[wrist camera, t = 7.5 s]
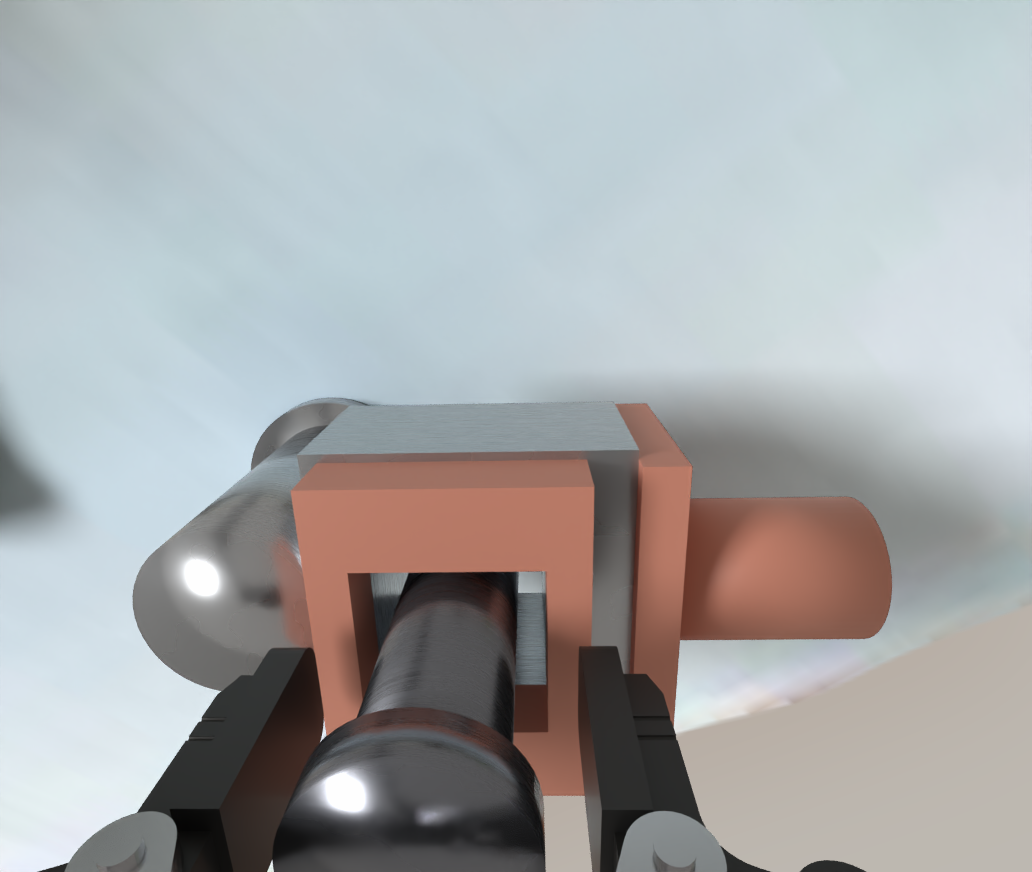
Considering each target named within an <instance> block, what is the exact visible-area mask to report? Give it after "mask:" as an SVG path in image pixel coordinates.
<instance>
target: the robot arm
mask: <svg viewBox="0 0 1032 872" xmlns="http://www.w3.org/2000/svg"><path fill="white" fill-rule="evenodd" d="M323 722H324V711H323V703H322V697H321V690H320V683H319V676H318V670H317V663H316V657H315V653H314V650H313V649H312V648H310V647H295V648H272V649H270V650H269V651H268V653H267V654H266V656H265V657H264V659H263V660H262V662H261V664H260V665H259V667H258V668H257V670H256V672H255V673H254V675H241V676H240V677H238V678H237V679H236V680H235V681H234V682H232V683H231V684H230V685H229V686H227V687H226V688H225V689H224V690H222V691H221V692H220V693H219V694H218V695H217V696H216V697H215V699H214V700H213V702H212V703H211V705H210V706H209V708H208V709H207V711H206V712H205V713H204V715H203V716H202V721H201V722H198V724H197V725H196V727H195V728H194V730H193V731H192V733H191V734H190V736H189V740H188V741H185V743H184V744H183V746H182V747H181V749H180V750H179V752H178V753H177V755H176V756H175V758H174V759H173V760H172V762H171V763H170V765H169V766H168V768H167V769H166V771H165V772H164V774H163V775H162V777H161V778H160V780H159V781H158V782H157V784H156V785H155V787H154V788H153V790H152V791H151V793H150V794H149V796H148V797H147V799H146V800H145V802H144V803H143V804H142V806H141V807H140V809H139V810H138V812H137V813H135V814H131V815H128V816H126V817H123V818H121V819H118V820H116V821H114V822H112V823H111V824H109V825H107V826H105V827H104V828H102V829H101V830H100V831H98V832H97V833H95V834H94V835H93V836H92V837H90V838H89V839H88V840H87V841H86V842H85V843H84V844H83V845H82V846H81V847H80V848H79V849H78V850H77V852H76V853H75V854H74V855H73V857H72V858H71V860H70V862H69V863H66V864H63V865H60V866H56V867H53V868H49V869H46V870H42V871H39V872H267V871H268V868H269V866H270V863H271V861H272V854H273V843H274V839H275V835H276V831H277V829H278V827H279V824H280V822H281V820H282V817H283V815H284V813H285V810H286V808H287V805H288V803H289V801H290V798H291V796H292V794H293V791H294V789H295V787H296V784H297V782H298V780H299V777H300V775H301V773H302V770H303V768H304V766H305V764H306V762H307V759H308V758H309V756H310V755H311V753H312V752H313V750H314V749H315V747H316V746H317V745H318V744H319V743H320V740H321V736H322V731H323ZM578 731H579V745H580V755H581V765H582V774H583V784H584V794H585V803H586V813H587V821H588V832H589V842H590V851H591V861H592V870H593V872H770V871H766V870H764V869H760V868H757V867H755V866H752V865H750V864H747V863H745V862H743V861H741V860H739V859H737V858H736V857H735V856H733V855H731V854H730V853H728V852H727V851H726V850H725V849H724V848H723V847H721V846H720V845H719V843H718V842H717V840H716V839H715V837H714V836H713V835H712V834H711V833H710V832H709V831H708V830H707V829H706V827H705V825H704V823H703V822H702V819H701V816H700V814H699V811H698V807H697V804H696V801H695V797H694V794H693V791H692V788H691V784H690V781H689V777H688V774H687V771H686V767H685V764H684V761H683V757H682V754H681V751H680V747H679V744H678V741H677V740H676V734H675V731H674V727H673V724H672V721H671V720H670V714H669V711H668V707H667V704H666V701H665V697H664V694H663V692H662V691H661V690H660V689H659V688H658V687H657V685H656V684H655V683H654V682H653V681H652V680H651V679H650V677H649V676H648V675H647V674H623V669H622V665H621V660H620V656H619V652H618V648H617V646H579V661H578ZM800 872H866V871H864V870H862V869H860V868H857V867H855V866H853V865H850V864H847V863H844V862H838V861H829V860H824V861H817V862H814V863H811V864H809V865H807V866H806V867H804V868H803V869H802V870H801V871H800Z"/></svg>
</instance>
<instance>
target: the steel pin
mask: <svg viewBox="0 0 1032 872" xmlns="http://www.w3.org/2000/svg"><path fill="white" fill-rule="evenodd" d="M518 574H519V572H420V573H408V576H407V579H406V581H405V584H404V587H403V590H402V593H401V595H400V598H399V601H398V604H397V606H396V609H395V612H394V615H393V618H392V620H391V623H390V626H389V629H388V631H387V634H386V637H385V640H384V643H383V645H382V648H381V651H380V654H379V657H378V659H377V662H376V665H375V668H374V670H373V673H372V676H371V679H370V682H369V684H368V687H367V690H366V693H365V696H364V698H363V701H362V704H361V707H360V709H359V712H358V715H357V718H356V719H353V720H351V721H349V722H347V723H345V724H343V725H342V726H340V727H338V728H337V729H335V730H334V731H333V732H331V733H330V734H329V735H327V736H326V737H325V738H324V739H323V740H322V741H321V742H320V743H319V744H318V745H317V746H316V747H315V749H314V750H313V752H312V753H311V755H310V756H309V758H308V759H307V762H306V764H305V766H304V768H303V770H302V773H301V775H300V777H299V780H298V782H297V784H296V787H295V789H294V791H293V794H292V796H291V798H290V801H289V803H288V805H287V808H286V810H285V813H284V815H283V817H282V820H281V822H280V824H279V827H278V829H277V831H276V835H275V839H274V843H273V854H272V860H273V869H274V872H546V870H545V835H544V834H545V832H544V804H543V794H542V790H541V787H540V783H539V780H538V778H537V776H536V774H535V772H534V770H533V768H532V766H531V765H530V763H529V762H528V760H527V759H526V758H525V756H524V755H523V754H522V753H521V752H520V751H519V750H518V748H517V747H516V746H514V745H513V738H514V705H515V673H516V640H517V607H518Z"/></svg>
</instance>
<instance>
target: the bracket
mask: <svg viewBox="0 0 1032 872" xmlns="http://www.w3.org/2000/svg"><path fill="white" fill-rule="evenodd" d="M615 405H616V407H617V409H618V411H619V413H620V415H621V416H622V418H623V420H624V422H625V424H626V426H627V428H628V430H629V431H630V433H631V435H632V437H633V439H634V441H635V443H636V445H637V446H638V448H639V469H638V492H637V515H636V538H635V561H634V583H633V606H632V629H631V652H630V674H647V675H648V676H649V677H650V679H651V680H652V681H653V682H654V683H655V684H656V685H657V687H658V688H659V689H660V690H661V691H662V692H663V694H664V697H665V701H666V704H667V707H668V711H669V714H670V720H671V721H672V724H673V727H674V713H675V699H676V686H677V672H678V658H679V644H680V640H766V639H866V638H870V637H872V636H874V635H875V634H876V633H878V632H879V630H880V629H881V628H882V626H883V624H884V623H885V620H886V618H887V615H888V612H889V608H890V602H891V594H892V575H891V565H890V560H889V555H888V551H887V547H886V543H885V540H884V537H883V535H882V532H881V530H880V528H879V526H878V524H877V522H876V520H875V518H874V517H873V515H872V514H871V512H870V511H869V510H868V509H867V508H866V507H865V506H864V505H863V504H862V503H861V502H859V501H858V500H856V499H854V498H852V497H779V498H700V499H690V494H691V480H692V465H691V464H690V462H689V461H688V460H687V458H686V457H685V455H684V454H683V453H682V451H681V450H680V449H679V447H678V446H677V445H676V443H675V442H674V440H673V439H672V438H671V436H670V435H669V434H668V432H667V431H666V430H665V428H664V427H663V425H662V424H661V423H660V421H659V420H658V419H657V417H656V416H655V414H654V413H653V412H652V410H651V409H650V408H649V406H648V405H647V404H615ZM291 497H292V504H293V511H294V518H295V524H296V531H297V538H298V545H299V552H300V558H301V565H302V572H303V579H304V585H305V592H306V599H307V606H308V612H309V619H310V626H311V633H312V640H313V646H314V653H315V657H316V663H317V670H318V676H319V683H320V690H321V697H322V703H323V711H324V721H325V728H326V734H327V735H329V734H330V733H331V732H333V731H334V730H335V729H337V728H338V727H340V726H342V725H343V724H345V723H347V722H349V721H351V720H353V719H356V718H357V715H358V712H359V709H360V707H361V704H362V701H363V698H364V696H365V693H366V690H367V687H368V684H369V682H370V679H371V676H372V673H373V670H374V668H375V665H376V662H377V659H378V657H379V650H378V641H377V632H376V622H375V613H374V604H373V595H372V586H371V576H370V573H420V572H522V571H545V573H546V685H515V705H514V738H513V745H514V746H516V747H517V748H518V750H519V751H520V752H521V753H522V754H523V755H524V756H525V758H526V759H527V760H528V762H529V763H530V765H531V766H532V768H533V770H534V772H535V774H536V776H537V778H538V780H539V783H540V787H541V790H542V794H543V796H566V795H567V796H585V794H584V784H583V774H582V765H581V755H580V745H579V731H578V661H579V646H591V636H592V586H593V535H594V483H593V480H592V476H591V472H590V469H589V465H588V461H587V459H582V460H511V461H440V462H370V463H316V464H315V465H314V466H313V468H312V469H311V470H310V471H309V472H308V473H307V474H306V475H305V476H304V477H303V478H302V479H301V480H300V481H299V482H298V483H297V484H296V485H295V487H294V488H293V489H292V490H291Z"/></svg>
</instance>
